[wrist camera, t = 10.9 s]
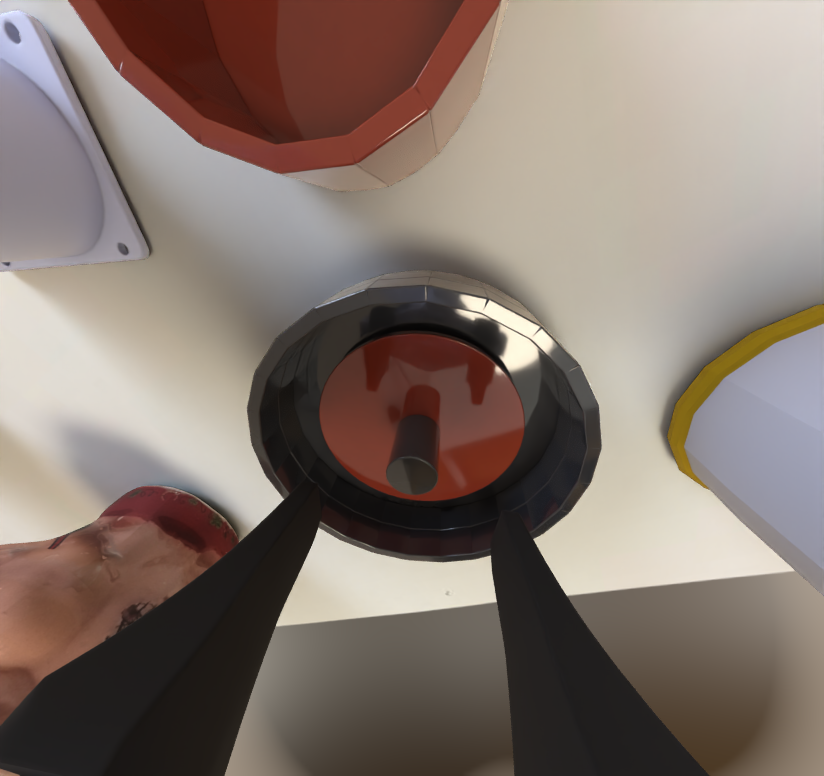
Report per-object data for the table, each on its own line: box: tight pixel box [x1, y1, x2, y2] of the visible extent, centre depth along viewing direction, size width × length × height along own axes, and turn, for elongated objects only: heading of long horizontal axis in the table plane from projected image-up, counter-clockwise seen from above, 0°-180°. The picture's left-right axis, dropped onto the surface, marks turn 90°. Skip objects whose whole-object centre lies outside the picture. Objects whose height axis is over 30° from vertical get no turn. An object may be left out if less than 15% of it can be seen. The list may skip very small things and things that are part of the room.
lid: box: [319, 331, 525, 501], centre depth 15 cm, size 11×11×4 cm
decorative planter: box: [0, 485, 239, 776], centre depth 20 cm, size 20×12×14 cm, turn 31°
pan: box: [247, 270, 601, 562], centre depth 16 cm, size 16×16×4 cm
